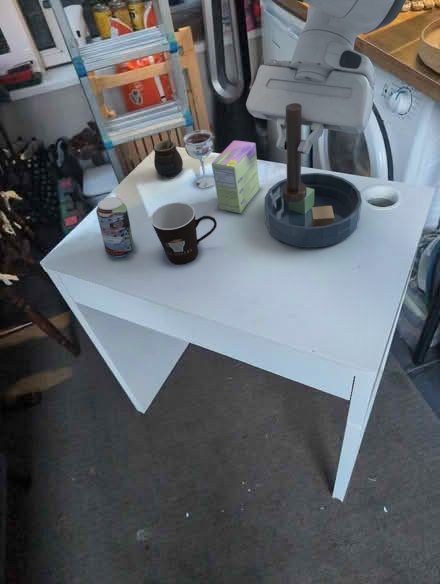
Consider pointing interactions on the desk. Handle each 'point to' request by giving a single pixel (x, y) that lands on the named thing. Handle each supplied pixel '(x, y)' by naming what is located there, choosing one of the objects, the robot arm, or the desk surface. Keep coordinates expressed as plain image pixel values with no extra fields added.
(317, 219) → the beech block
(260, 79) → the robot arm
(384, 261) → the desk surface
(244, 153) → the box
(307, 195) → the sage block
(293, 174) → the tall rod on disc
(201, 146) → the wineglass
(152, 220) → the coffee mug
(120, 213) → the beverage can
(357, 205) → the bowl
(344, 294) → the desk surface
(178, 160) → the mate gourd
